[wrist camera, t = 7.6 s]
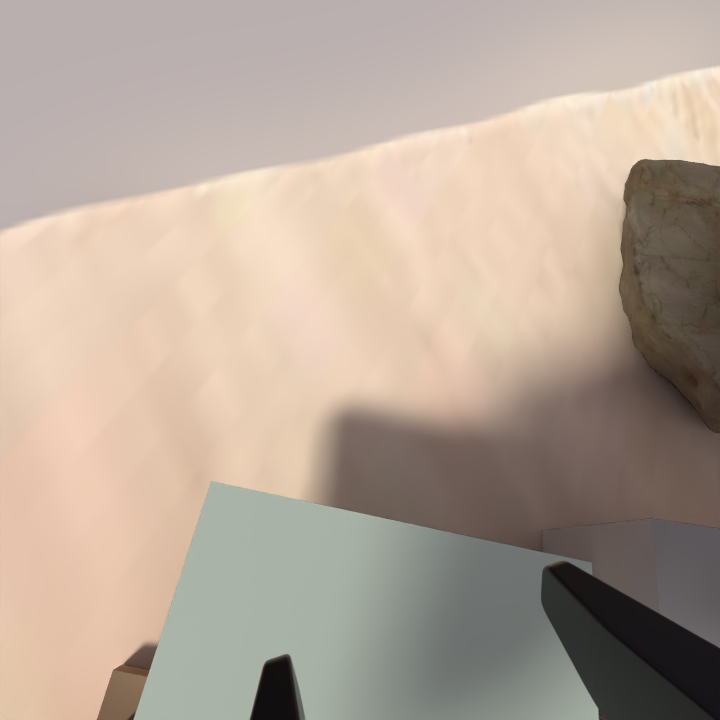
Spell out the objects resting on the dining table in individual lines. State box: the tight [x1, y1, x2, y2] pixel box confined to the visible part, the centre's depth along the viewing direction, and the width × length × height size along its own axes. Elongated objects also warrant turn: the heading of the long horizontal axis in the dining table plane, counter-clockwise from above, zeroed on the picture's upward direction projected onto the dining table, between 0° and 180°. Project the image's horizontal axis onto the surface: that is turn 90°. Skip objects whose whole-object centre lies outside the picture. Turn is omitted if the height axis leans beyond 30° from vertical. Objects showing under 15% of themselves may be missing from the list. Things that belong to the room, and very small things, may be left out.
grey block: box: [542, 518, 720, 648], centre depth 18 cm, size 5×5×8 cm
